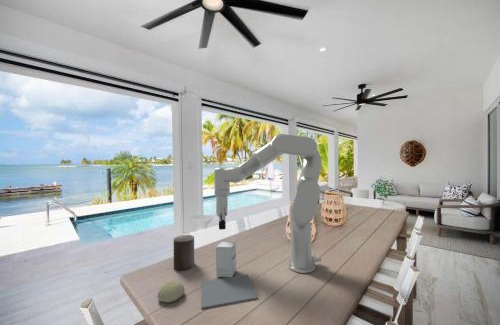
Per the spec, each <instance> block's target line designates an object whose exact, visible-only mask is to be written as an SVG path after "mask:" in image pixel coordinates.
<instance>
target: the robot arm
mask: <svg viewBox="0 0 500 325" xmlns="http://www.w3.org/2000/svg"><path fill="white" fill-rule="evenodd" d="M285 154H286V155H293V156H300V157H301V158H302V167H301V170H300V174H299V178H298V180H297V183H296V192H295V193H296V194H295V197H294V200H293V201H292V202H291V203H290V205H289V220H290V222H289V224H290V229H289V230H290V260H288V262H287V267H288V268H289V269H290V270H291V271H293V272H296V273H299V274H300V273H301V274H307V273H308V274H309V273H311V272H314V271H315V270H316V264H315V263H316V262H322V257H321V256H316V255H313V252H312V221H313V219H314V217H315V214H316V210H317V206H318V204H319V201H320V197H321V187H320V184H319V181H320V180H319V179H320V175H321V171H322V167H323V166H322V165H323V164H322V162H323V160H322V156H321V154H320V152H319V149H318V144H317V142H316V140H315V139H314V138H312V137H310V136H301V135H295V134H293V135H292V134H285V133H278V134H276V135H275V136H274V137H273V138H272V140H271V141H269V142H267V143H266V144H265V145H263V146H261V147H260V148H258V149H257V150H256V151H255V152H253V154H252V155H251V156H250V158H249V159H247V160H245V162H243V163H242V164H240V165H239V166H236V167H216V168H215V169H214V196H215V197H216V200H215V201H216V203H215V205H216V206H215V213H216V214H215V215H216V217H218V230H226V226H227V224H226V217H227V216H228V209H229V208H228V205H229V204H228V197H229V196H230V195H231V193H230V192H231V188H230V184H231V183H233V184H234V183H235V184H236V183H238V184H239V183H241V182H242V181H244V180H246V179H247V178H248V177H251V176H252V175H253V174H254V173H256V172H259V170H261V169H263V168H265V167H266V166H267V165H269V164H271V163H273V161H275V160H277V159H278V158H280V157H281V156H282V155H285Z"/></svg>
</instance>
